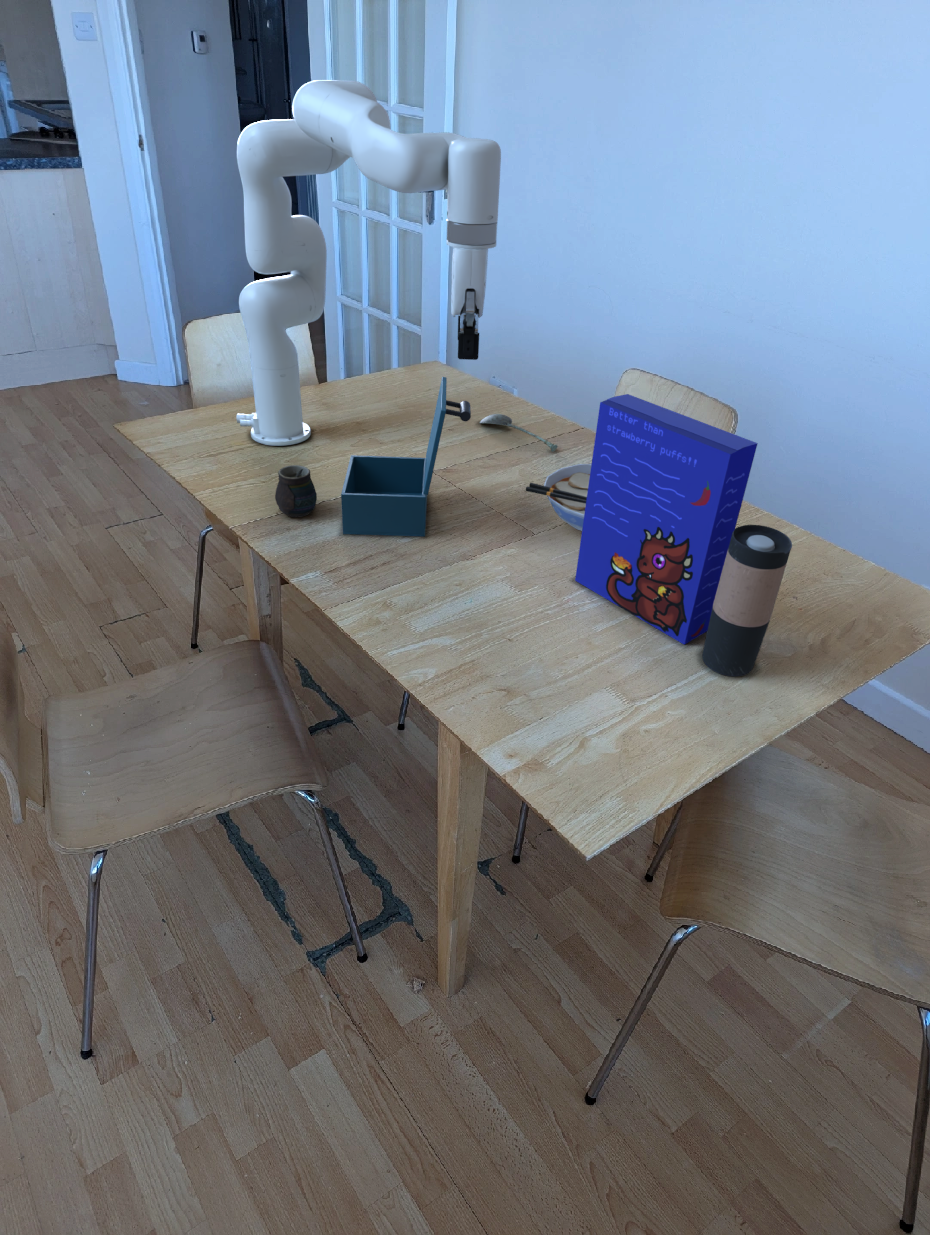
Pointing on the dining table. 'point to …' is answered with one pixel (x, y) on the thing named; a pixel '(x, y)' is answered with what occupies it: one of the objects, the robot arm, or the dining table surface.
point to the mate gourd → (295, 491)
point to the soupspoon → (507, 421)
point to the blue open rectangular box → (384, 496)
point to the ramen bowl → (567, 492)
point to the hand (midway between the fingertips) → (467, 349)
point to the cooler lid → (437, 429)
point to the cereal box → (661, 513)
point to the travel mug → (745, 598)
